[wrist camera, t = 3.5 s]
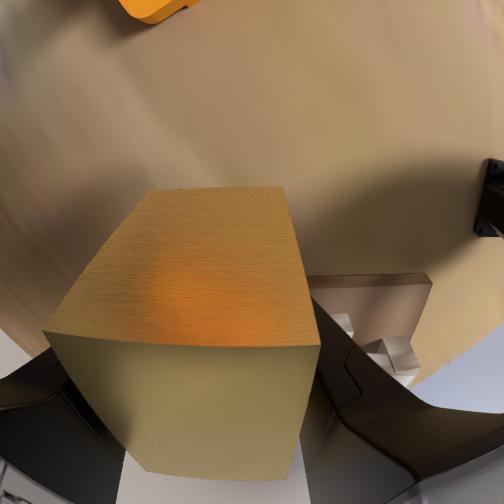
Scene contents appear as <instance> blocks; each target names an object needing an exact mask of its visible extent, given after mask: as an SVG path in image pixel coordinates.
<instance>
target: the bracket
mask: <svg viewBox="0 0 504 504" xmlns="http://www.w3.org/2000/svg"><path fill="white" fill-rule="evenodd" d="M200 1H201V0H119V2H120V3H121V4H122V6H123V7H124V8H125V9H126V11H127V12H128V13H129V14H130V15H131V16H133V17H135V18H137V19H139V20H141V21H143V22H145V23H148V24H155V23H158V22H160V21H162V20H164V19H165V18H167V17H168V16H170V15H171V14H173V13H174V12H176V11H177V10H179V9H180V8H182V7H184V6H185V5H187V6H188V7H189V8H190V7H191V6H193V5H195V4H196V3H198V2H200Z"/></svg>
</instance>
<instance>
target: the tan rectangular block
mask: <svg viewBox="0 0 504 504" xmlns="http://www.w3.org/2000/svg"><path fill="white" fill-rule="evenodd" d="M42 331H43V333H44V335H45V336H46V338H47V340H48V342H49V344H50V345H51V347H52V349H53V350H54V352H55V354H56V355H57V357H58V359H59V360H60V362H61V364H62V365H63V367H64V368H65V370H66V372H67V373H68V375H69V376H70V378H71V379H72V381H73V382H74V384H75V385H76V387H77V388H78V389H79V391H80V392H81V394H82V395H83V397H84V398H85V399H86V401H87V402H88V404H89V405H90V406H91V408H92V409H93V410H94V412H95V413H96V414H97V415H98V417H99V418H100V419H101V421H102V422H103V423H104V424H105V426H106V427H107V428H108V429H109V431H110V432H111V433H112V434H113V435H114V437H115V438H116V439H117V440H118V441H119V442H120V444H121V445H122V446H123V447H124V448H125V449H126V450H127V451H128V453H129V454H130V455H131V456H132V457H133V458H134V459H135V460H136V461H137V462H138V463H139V464H140V465H141V466H142V467H143V468H144V470H145V471H147V472H153V473H160V474H166V475H173V476H181V477H189V478H200V479H213V480H234V481H272V480H273V481H274V480H286V478H287V475H288V471H289V468H290V465H291V462H292V458H293V455H294V451H295V448H296V445H297V441H298V438H299V434H300V431H301V427H302V423H303V419H304V416H305V412H306V408H307V404H308V400H309V396H310V392H311V387H312V383H313V379H314V375H315V370H316V366H317V361H318V356H319V352H320V347H321V342H320V337H319V333H318V328H317V324H316V319H315V315H314V310H313V306H312V301H311V297H310V293H309V288H308V284H307V280H306V276H305V272H304V267H303V263H302V259H301V255H300V251H299V247H298V243H297V239H296V235H295V231H294V227H293V224H292V220H291V216H290V212H289V208H288V205H287V201H286V197H285V193H284V190H283V187H224V188H194V189H173V190H155V191H149V192H148V193H147V194H146V195H145V197H144V198H143V199H142V200H141V201H140V202H139V203H138V204H137V206H136V207H135V208H134V209H133V210H132V211H131V212H130V214H129V215H128V216H127V217H126V218H125V219H124V221H123V222H122V223H121V224H120V225H119V227H118V228H117V229H116V230H115V231H114V233H113V234H112V235H111V236H110V238H109V239H108V240H107V241H106V242H105V244H104V245H103V246H102V247H101V249H100V250H99V251H98V253H97V254H96V255H95V256H94V258H93V259H92V260H91V262H90V263H89V264H88V266H87V267H86V268H85V270H84V271H83V272H82V274H81V275H80V276H79V278H78V279H77V280H76V282H75V283H74V284H73V286H72V287H71V289H70V290H69V291H68V293H67V294H66V296H65V297H64V299H63V300H62V301H61V303H60V304H59V306H58V307H57V309H56V310H55V312H54V313H53V315H52V316H51V318H50V319H49V321H48V322H47V324H46V325H45V327H44V329H43V330H42Z"/></svg>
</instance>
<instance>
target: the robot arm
mask: <svg viewBox="0 0 504 504" xmlns="http://www.w3.org/2000/svg"><path fill="white" fill-rule="evenodd" d="M493 165H494V167H493ZM478 230H479V231H478ZM473 232H474V234H475V235H476V236H478V237H501V238H502V239H504V161H501V160H497V159H491V160H490V161H489V163H488V168H487V174H486V179H485V184H484V189H483V193H482V198H481V202H480V206H479V210H478V214H477V218H476V221H475V225H474V229H473ZM310 297H311V301H312V306H313V310H314V315H315V319H316V324H317V328H318V333H319V337H320V342H321V347H320V352H319V356H318V361H317V366H316V370H315V375H314V379H313V383H312V387H311V392H310V396H309V400H308V404H307V408H306V412H305V416H304V419H303V423H302V427H301V431H300V434H299V437H300V443H301V448H302V454H303V460H304V465H305V472H306V474H307V475H306V478H307V483H308V489H309V495H310V501H311V504H504V413H501V414H496V413H494V414H493V413H482V412H472V411H463V410H455V409H447V408H440V407H435V406H432V405H430V404H427V403H426V402H424V401H422V400H421V399H419V398H418V397H417V396H415V395H414V394H413V393H412V392H410V391H409V390H408V389H407V388H406V387H404V386H403V385H402V384H401V383H400V382H398V381H397V380H396V379H395V378H393V377H392V376H391V375H390V374H389V373H387V372H386V371H385V370H384V369H383V368H382V367H381V366H379V365H378V364H377V363H376V362H375V361H374V360H373V359H372V358H371V357H370V356H369V355H368V354H367V353H366V352H365V351H364V350H363V349H362V348H361V347H360V346H359V345H358V344H357V343H355V341H354V340H353V339H352V338H351V337H350V336H349V335H348V334H347V333H346V332H345V331H344V330H343V329H342V328H341V326H340V325H339V324H338V323H337V322H336V321H335V320H334V319H333V318H332V317H331V316H330V315H329V314H328V313H327V312H326V311H325V310H324V309H323V308H322V307H321V306H320V305H319V304H318V303H317V302H316V301H315V300H314V298H313V297H312V296H311V295H310ZM125 452H126V449H125V448H124V447H123V446H122V445H121V444H120V442H119V441H118V440H117V439H116V438H115V437H114V435H113V434H112V433H111V432H110V431H109V429H108V428H107V427H106V426H105V424H104V423H103V422H102V421H101V419H100V418H99V417H98V415H97V414H96V413H95V412H94V410H93V409H92V408H91V406H90V405H89V404H88V402H87V401H86V399H85V398H84V397H83V395H82V394H81V392H80V391H79V389H78V388H77V387H76V385H75V384H74V382H73V381H72V379H71V378H70V376H69V375H68V373H67V372H66V370H65V368H64V367H63V365H62V364H61V362H60V360H59V359H58V357H57V355H56V354H55V352H54V350H53V349H52V347H50V348H48V349H47V350H46V351H44V352H43V353H41V354H40V355H38V356H37V357H35V358H34V359H32V360H31V361H29V362H28V363H26V364H25V365H23V366H22V367H20V368H19V369H17V370H16V371H14V372H13V373H11V374H10V375H8V376H6V377H4V378H2V379H0V504H116V499H117V493H118V488H119V482H120V477H121V472H122V467H123V463H122V462H123V461H124V457H125Z"/></svg>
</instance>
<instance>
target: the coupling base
mask: <svg viewBox="0 0 504 504" xmlns="http://www.w3.org/2000/svg"><path fill="white" fill-rule="evenodd" d="M306 280H307V284H308V288H309V293H310V295H311V296H312V297H313V298H314V300H315V301H316V302H317V303H318V304H319V305H320V306H321V307H322V308H323V309H324V310H325V311H326V312H327V313H328V314H329V315H330V316H331V317H332V318H333V319H334V320H335V321H336V322H337V323H338V324H339V325H340V326H341V328H342V329H343V330H344V331H345V332H346V333H347V334H348V335H349V336H350V337H351V338H352V339H353V340H354V341H355V343H357V344H358V345H359V346H360V347H361V348H362V349H363V350H364V351H365V352H366V353H367V354H368V355H369V356H370V357H371V358H372V359H373V360H374V361H375V362H376V363H377V364H378V365H379V366H381V367H382V368H383V369H384V370H385V371H386V372H387V373H389V374H390V375H391V376H392V377H393V378H395V379H396V380H397V381H398V382H400V383H401V384H402V385H403V386H404V387H406V388H407V389H409V387H410V386H411V384H412V382H413V381H414V379H415V377H416V376H417V374H418V372H419V370H420V369H421V367H420V364H419V362H418V360H417V358H416V355H415V353H414V351H413V349H412V347H411V344H410V340H411V338H412V335H413V333H414V331H415V328H416V326H417V324H418V321H419V319H420V316H421V314H422V311H423V309H424V306H425V304H426V301H427V298H428V296H429V293H430V290H431V288H432V285H433V283H432V282H431V280H430V279H429V278H428V276H427V275H426V273H413V274H386V275H353V276H309V277H306Z"/></svg>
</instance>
